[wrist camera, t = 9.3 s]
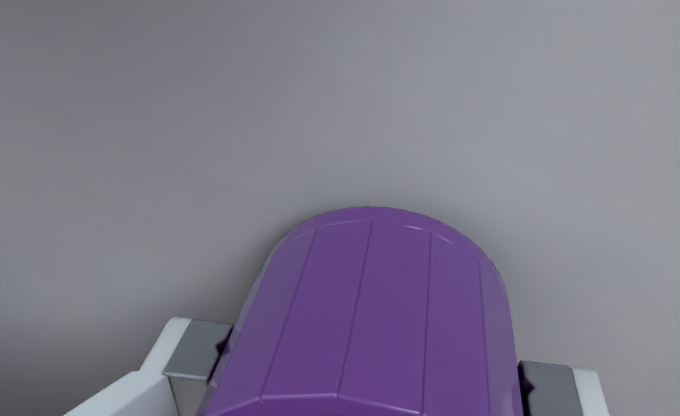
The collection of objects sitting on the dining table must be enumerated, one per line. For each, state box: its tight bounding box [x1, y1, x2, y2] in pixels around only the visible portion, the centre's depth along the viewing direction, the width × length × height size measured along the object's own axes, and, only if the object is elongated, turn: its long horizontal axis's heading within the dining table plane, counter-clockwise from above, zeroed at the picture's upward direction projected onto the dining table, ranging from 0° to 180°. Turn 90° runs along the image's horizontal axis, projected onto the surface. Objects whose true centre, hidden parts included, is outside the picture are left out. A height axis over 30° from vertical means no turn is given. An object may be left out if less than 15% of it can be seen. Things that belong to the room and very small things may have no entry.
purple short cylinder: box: [195, 206, 524, 416], centre depth 11 cm, size 6×6×5 cm
